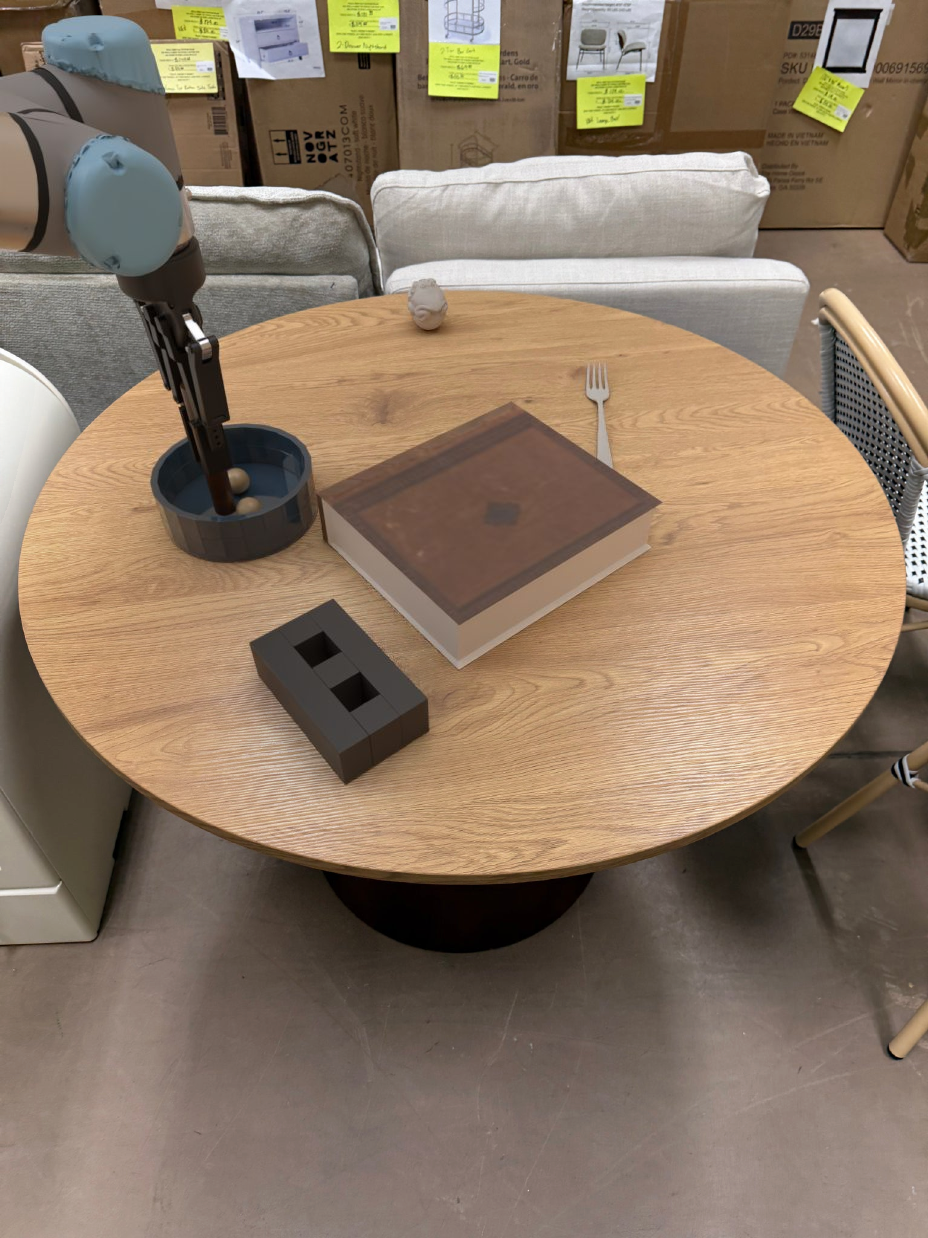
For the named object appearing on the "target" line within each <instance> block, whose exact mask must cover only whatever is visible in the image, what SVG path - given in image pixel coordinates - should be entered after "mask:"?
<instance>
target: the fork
mask: <svg viewBox="0 0 928 1238" xmlns="http://www.w3.org/2000/svg"><path fill="white" fill-rule="evenodd" d="M601 365H602V364H601V361H599V362H598V370H597V371H598V372H597V375H598V388H597V383H596V381H597V380H596V361H593V365H592V386H591V387H590V382H591V381H590V380H591V362H590V361H588V362H587V368H586V369H587V370H586V383H585V384H586V385H585V394H586V397H587V398H588V399H590V400H591V401H594V402H596V404H597V409H598V412H597V413H598V423H597V426H598V427H597V444H596V445H597V446H596V447H597V448H596V449H597V452H596V458H597V459H599V460H600V461H602V462H603V463H605V464H606V465H608V466H609V467H611V468H612V469H614V465H613V459H612V453H611V448H610V443H609V436H608V432H607V425H606V420H605V413H604V412H605V411H604V403H603V402H604V401H607V400H608V399H609V398H610V388H609V381H608V371H607V363H606V362H605V361H604V362H603V377H604V387H603V381H602V380H603V379H602V366H601Z"/></svg>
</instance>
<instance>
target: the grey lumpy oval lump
mask: <svg viewBox="0 0 928 1238" xmlns="http://www.w3.org/2000/svg"><path fill="white" fill-rule="evenodd" d="M406 307H407V310H408V311H409V314H410V315H411V318H412V320H413V321H414V323H415V324H416V325H417V326H418V327H419V328H421V329H422V330H427V331H429V330H430V331H431V330H435V329H437V328H438V327H440V326H441V325H442V323H443V322H444V320H445V317H446V316H447V311H448V309H449V304H448V301H447V299H446V295H445V292H444V291H443V290H442V288H441V287H440V285H439V284H437V280H436V279H435V278H433V277H429V278H420V279H419V280H415V281H413V282H412V285H411V287H410V288H409V290H408V293H407V305H406Z"/></svg>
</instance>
